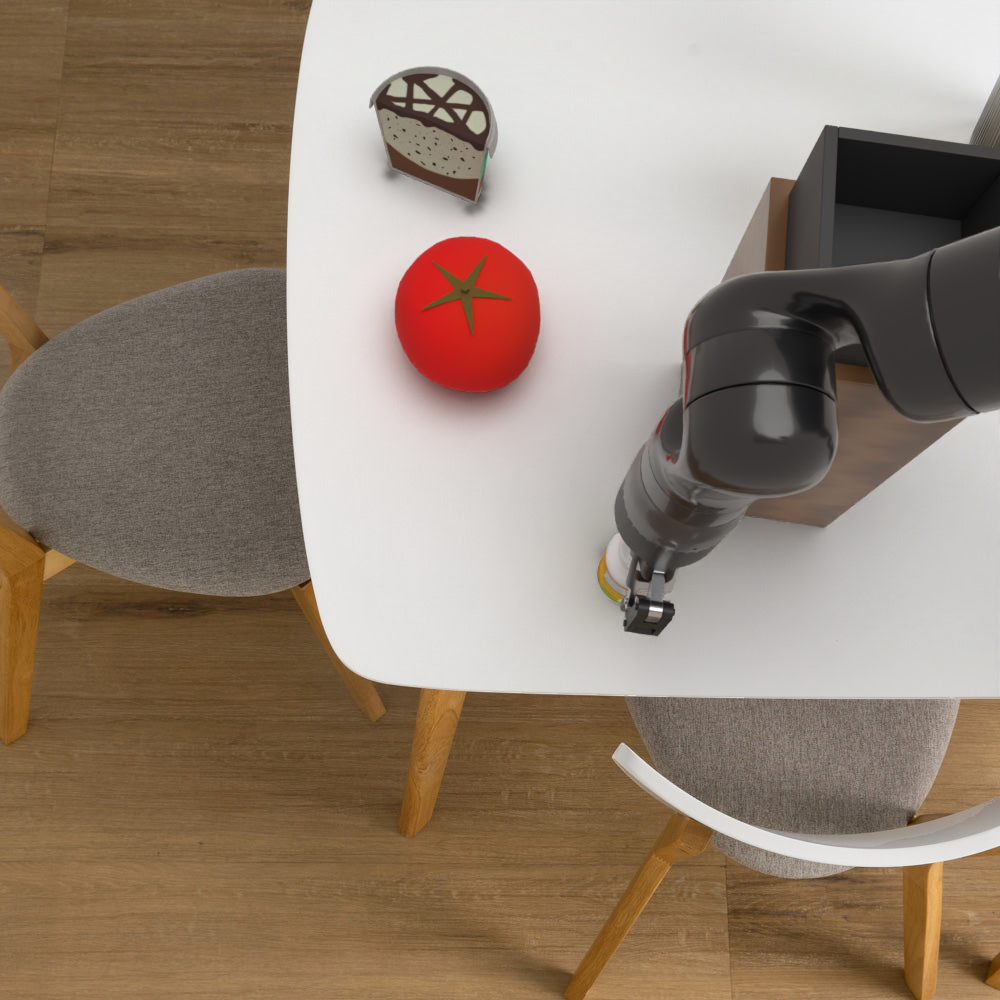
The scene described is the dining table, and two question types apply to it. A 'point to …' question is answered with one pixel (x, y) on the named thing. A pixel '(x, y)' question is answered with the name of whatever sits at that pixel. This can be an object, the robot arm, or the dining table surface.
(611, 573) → the supplement bottle
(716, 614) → the dining table surface
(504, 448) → the dining table surface
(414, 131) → the food container
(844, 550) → the dining table surface
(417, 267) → the tomato
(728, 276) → the stand
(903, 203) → the dark grey open box
